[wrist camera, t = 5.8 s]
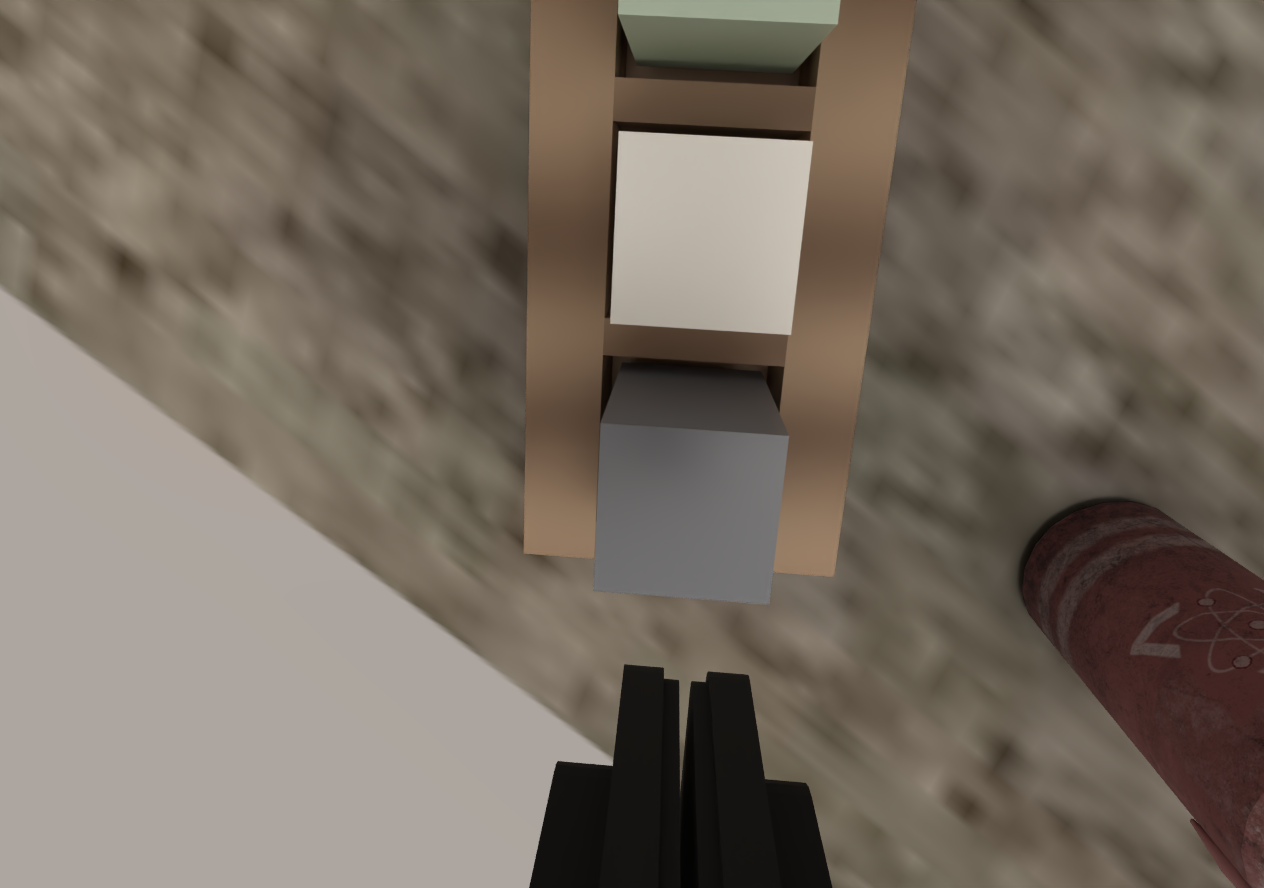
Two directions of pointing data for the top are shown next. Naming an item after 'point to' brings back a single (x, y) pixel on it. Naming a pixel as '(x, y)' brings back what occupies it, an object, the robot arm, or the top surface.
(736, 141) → the key ivory
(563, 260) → the brown wooden block rack
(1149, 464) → the top surface
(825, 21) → the key sage
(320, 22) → the top surface
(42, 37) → the top surface
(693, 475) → the key charcoal
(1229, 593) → the can
